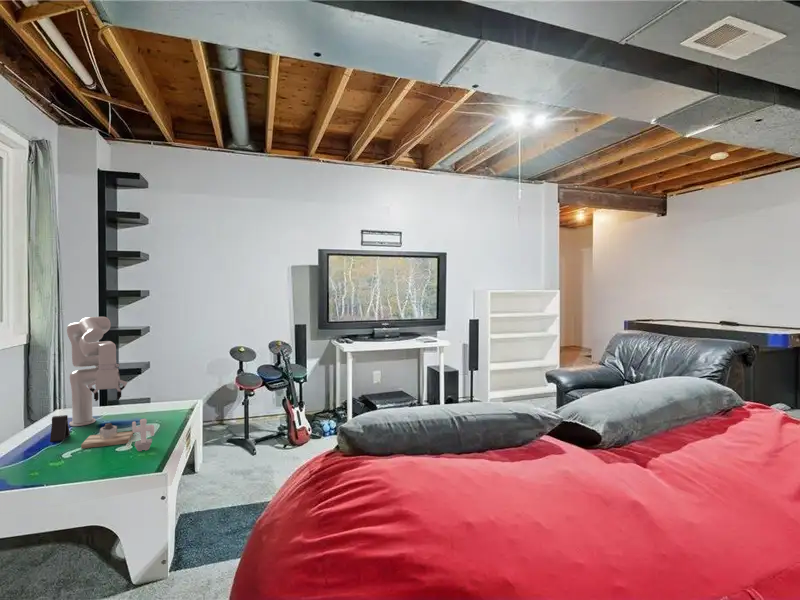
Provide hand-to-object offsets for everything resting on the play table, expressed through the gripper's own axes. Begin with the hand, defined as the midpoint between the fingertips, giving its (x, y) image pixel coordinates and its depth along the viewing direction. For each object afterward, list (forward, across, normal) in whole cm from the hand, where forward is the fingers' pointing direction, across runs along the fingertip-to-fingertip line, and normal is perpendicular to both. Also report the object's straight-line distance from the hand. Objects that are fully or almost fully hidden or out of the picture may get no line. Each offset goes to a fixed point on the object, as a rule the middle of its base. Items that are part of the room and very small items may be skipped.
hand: (107, 399), depth 224 cm
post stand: (+22, 0, 0) cm, 22 cm away
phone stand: (+22, +25, -14) cm, 36 cm away
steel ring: (+20, 0, 0) cm, 20 cm away
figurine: (+22, -19, +19) cm, 35 cm away
